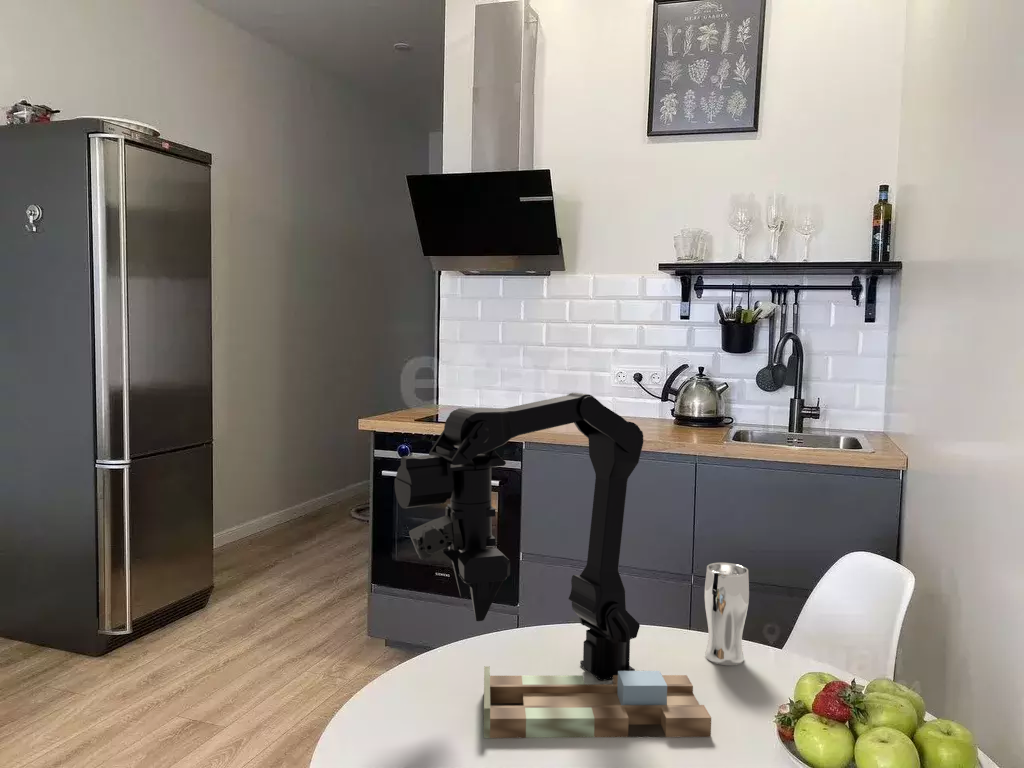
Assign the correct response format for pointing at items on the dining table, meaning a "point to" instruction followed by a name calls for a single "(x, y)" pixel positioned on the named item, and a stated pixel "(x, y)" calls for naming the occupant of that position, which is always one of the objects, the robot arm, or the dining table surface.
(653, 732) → the tray
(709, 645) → the beer glass
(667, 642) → the dining table surface
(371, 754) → the dining table surface
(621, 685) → the block
